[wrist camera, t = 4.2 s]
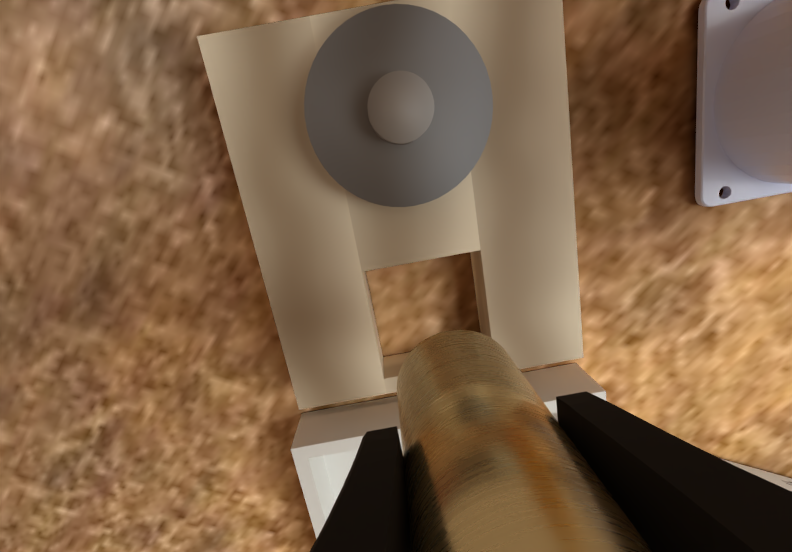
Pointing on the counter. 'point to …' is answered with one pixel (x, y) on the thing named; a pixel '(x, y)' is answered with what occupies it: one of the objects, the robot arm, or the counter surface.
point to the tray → (346, 425)
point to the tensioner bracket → (403, 174)
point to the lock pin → (495, 459)
